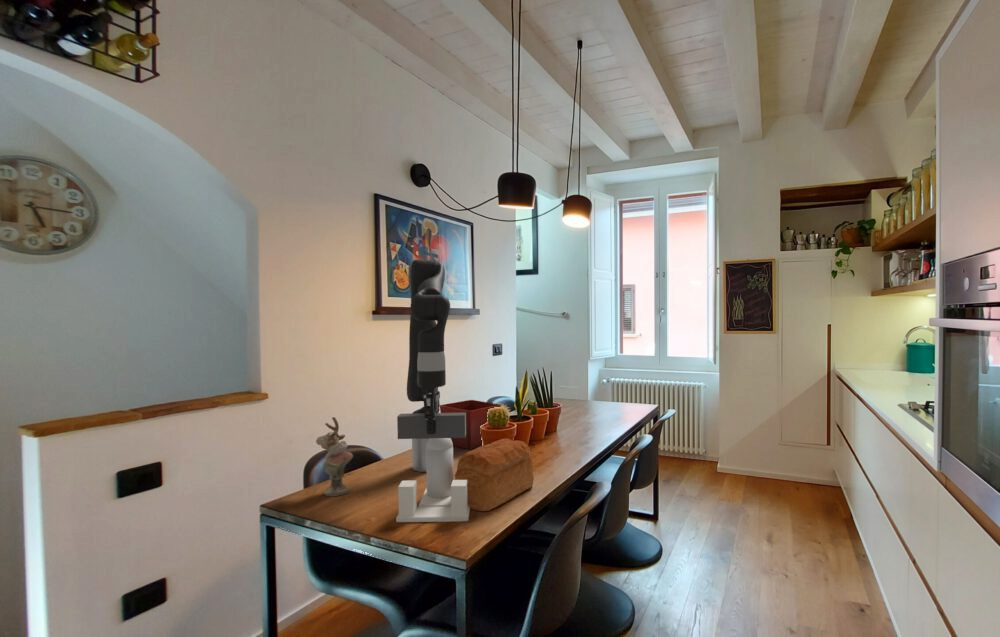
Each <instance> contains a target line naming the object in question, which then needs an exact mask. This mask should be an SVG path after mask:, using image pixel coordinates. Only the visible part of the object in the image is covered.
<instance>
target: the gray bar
mask: <svg viewBox="0 0 1000 637" xmlns="http://www.w3.org/2000/svg"><path fill="white" fill-rule="evenodd" d="M428 414H432V413H428ZM396 417H397V418H396V422H397V440H412V439H429V438H465V437H466V412H465V413H441V412H438V413H436V420H435V425H436V432H435V434H427V420H426V419H425V413H413V412H412V413H399V414H398V415H397V416H396Z"/></svg>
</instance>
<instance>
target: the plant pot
mask: <svg viewBox="0 0 1000 637" xmlns="http://www.w3.org/2000/svg"><path fill="white" fill-rule="evenodd" d="M494 407H502V405H501V404H499V403H493V402H488V401H481V400H476V399H475V400H474V399H468V400H467V399H466V400H462V401H456V402H455V401H454V402H449V403H445V404H440V406H439V413H465V412H466V437H465V438H451V440H452V443H453V446H455V447H458V448H462V449H465V448H466V449H467V450H474V449H477V448H478V447H481V446H482V440H481V434H480V426H481V425H483V424H485V423H486V422H487V412H488V409H490V408H494ZM473 448H474V449H473Z"/></svg>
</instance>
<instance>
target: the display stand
mask: <svg viewBox="0 0 1000 637" xmlns="http://www.w3.org/2000/svg"><path fill="white" fill-rule="evenodd" d="M454 477H455V474H454V445H453V443H452V440H451V438H429V439H428V441H427V444H426V488H425V490H424V491H423V494H422V496H421V499H420V502H419V503H418V496H417V495H418V489H417V488H418V487H417V484H418V483H417V480H415V479H414V480H412V479H411V480H401V482H400V483H399V485H398V488H397V491H398V495H397V496H398V513H397V516H396V518H395V519H396V520H395V521H396V522H395V523H430V522H432V523H433V522H434V523H437V522H438V523H441V522H442V523H443V522H469V520H470V519H469V518H470V514H471V513H470V512H471V509H470V507H468V491H467V480H455V478H454Z"/></svg>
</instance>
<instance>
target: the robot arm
mask: <svg viewBox="0 0 1000 637" xmlns="http://www.w3.org/2000/svg"><path fill="white" fill-rule="evenodd" d="M445 273H446V270H445V266H444V264H443V262H442V261H439V260H433V259H414V260H412V262H411V265H410V274H409V275H410V276H409V277H410V279H409V280H410V307H409V309H410V310H409V311H410V317H409V333H408V334H409V335H408V336H409V337H408V338H409V342H408V344H409V349H408V350H409V354H408V355H409V356H408V358H409V360H408V370H407V379H406V380H407V382H406V396H407V399H408V400H409V402H414V403H415V402H423V406H422V407H420V408H419V409H416V410H414V411H413V412H412V413H425V419H426V420H427V434H435V432H436V425H435V420H436V413H440V405H441V404H440V403H441V402H440V398H441V392H440V391H439V388H442V387H445V385H446V383H447V382H446V380H447V379H446V375H447V374H446V372H447V371H446V355H445V331H446V326H447V321H448V318H449V315H450V311H451V303H450V300H449V298H448V297H447V296H446V295H444V294H443V288H444V284H445V276H446V274H445ZM428 413H432V414H428ZM427 441H428V439H411V460H412V461H411V463H412V465H411V466H412V469H411V470H413V471H416V472H421V473H422V472H423V473H424V472H426V444H427ZM426 473H427V472H426Z"/></svg>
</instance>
